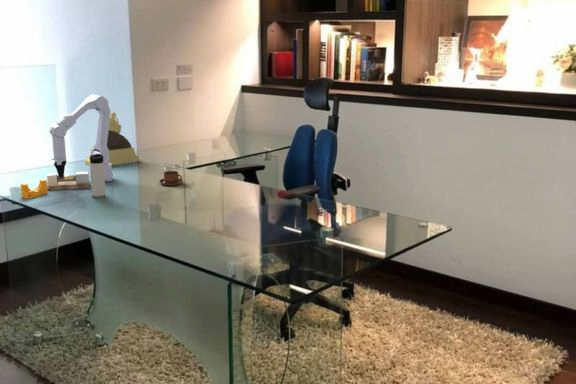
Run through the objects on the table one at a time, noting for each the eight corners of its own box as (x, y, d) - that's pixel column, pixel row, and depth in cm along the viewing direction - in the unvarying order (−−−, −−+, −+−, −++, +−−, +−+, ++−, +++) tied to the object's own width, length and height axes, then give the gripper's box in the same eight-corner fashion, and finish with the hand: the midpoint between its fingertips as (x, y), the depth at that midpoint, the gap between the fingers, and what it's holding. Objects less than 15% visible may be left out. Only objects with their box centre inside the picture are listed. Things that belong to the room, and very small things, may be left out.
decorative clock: (129, 157, 391) (127, 108, 383) (139, 161, 381) (137, 111, 373) (85, 163, 373) (81, 112, 365) (94, 167, 364) (91, 115, 356)
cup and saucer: (184, 181, 339) (184, 170, 337) (181, 187, 327) (181, 175, 325) (161, 181, 338) (161, 169, 337) (157, 187, 327) (157, 175, 325)
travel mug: (107, 194, 311) (104, 153, 306) (103, 198, 304) (101, 156, 299) (94, 194, 311) (91, 153, 305) (90, 197, 304) (87, 156, 299)
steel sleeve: (89, 182, 329) (88, 171, 327) (88, 184, 324) (88, 173, 323) (76, 182, 327) (76, 172, 326) (76, 185, 323) (75, 174, 321)
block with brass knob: (79, 180, 326) (78, 167, 325) (79, 181, 323) (78, 169, 322) (51, 181, 323) (50, 168, 321) (50, 183, 320) (49, 170, 318)
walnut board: (89, 181, 333) (89, 179, 333) (88, 188, 320) (88, 186, 320) (46, 183, 328) (46, 181, 328) (43, 190, 315) (43, 188, 315)
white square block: (58, 183, 325) (57, 172, 323) (57, 185, 320) (56, 175, 319) (48, 183, 324) (47, 173, 322) (47, 186, 319) (46, 175, 318)
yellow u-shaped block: (27, 199, 301) (25, 185, 299) (21, 197, 304) (20, 184, 302) (49, 193, 311) (48, 180, 309) (44, 192, 313) (43, 179, 311)
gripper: (51, 146, 324) (53, 172, 328) (49, 152, 311) (51, 179, 314) (66, 146, 326) (68, 172, 329) (64, 152, 312) (66, 179, 316)
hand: (61, 175), depth 322 cm, fingers closed on block with brass knob, 3 cm apart
